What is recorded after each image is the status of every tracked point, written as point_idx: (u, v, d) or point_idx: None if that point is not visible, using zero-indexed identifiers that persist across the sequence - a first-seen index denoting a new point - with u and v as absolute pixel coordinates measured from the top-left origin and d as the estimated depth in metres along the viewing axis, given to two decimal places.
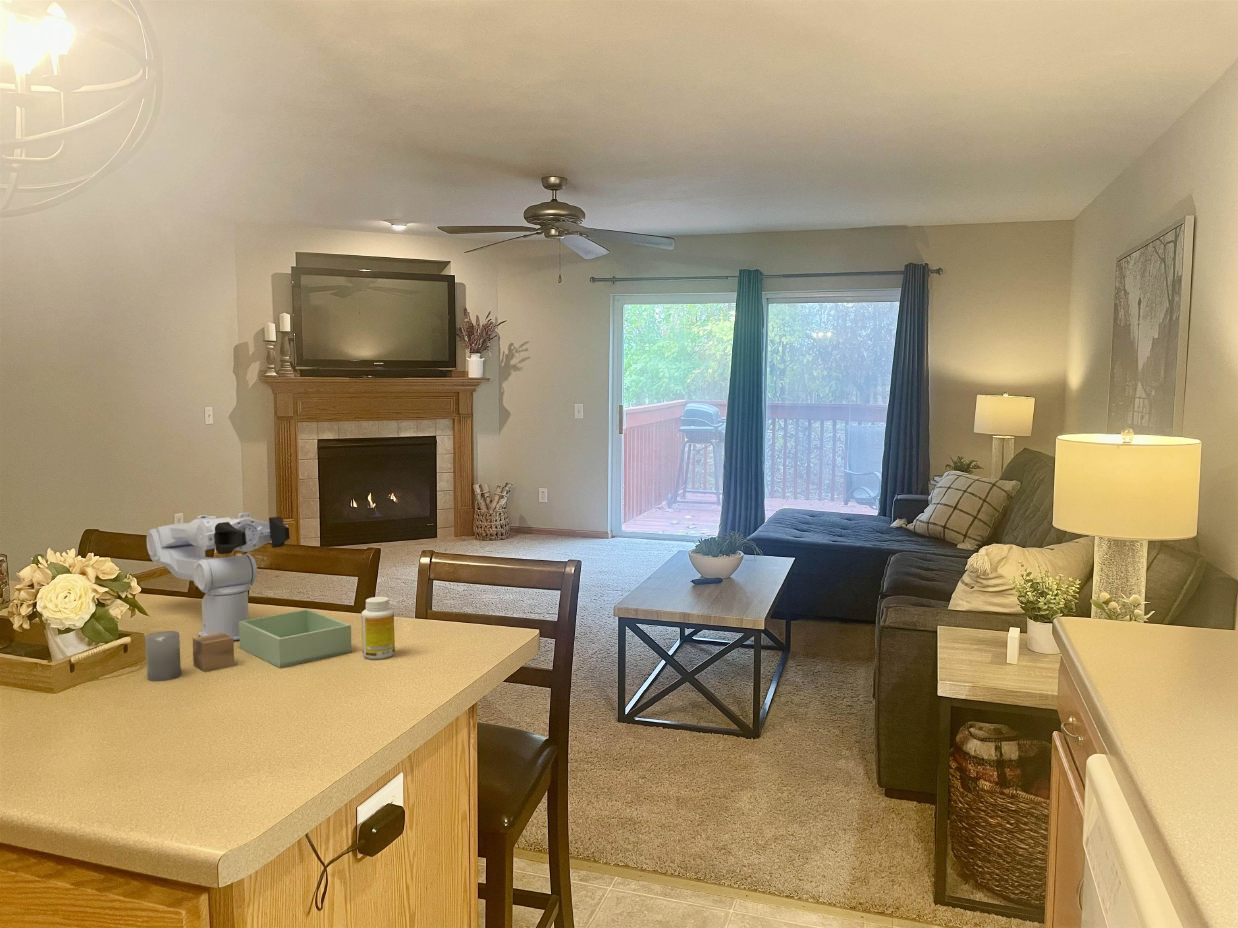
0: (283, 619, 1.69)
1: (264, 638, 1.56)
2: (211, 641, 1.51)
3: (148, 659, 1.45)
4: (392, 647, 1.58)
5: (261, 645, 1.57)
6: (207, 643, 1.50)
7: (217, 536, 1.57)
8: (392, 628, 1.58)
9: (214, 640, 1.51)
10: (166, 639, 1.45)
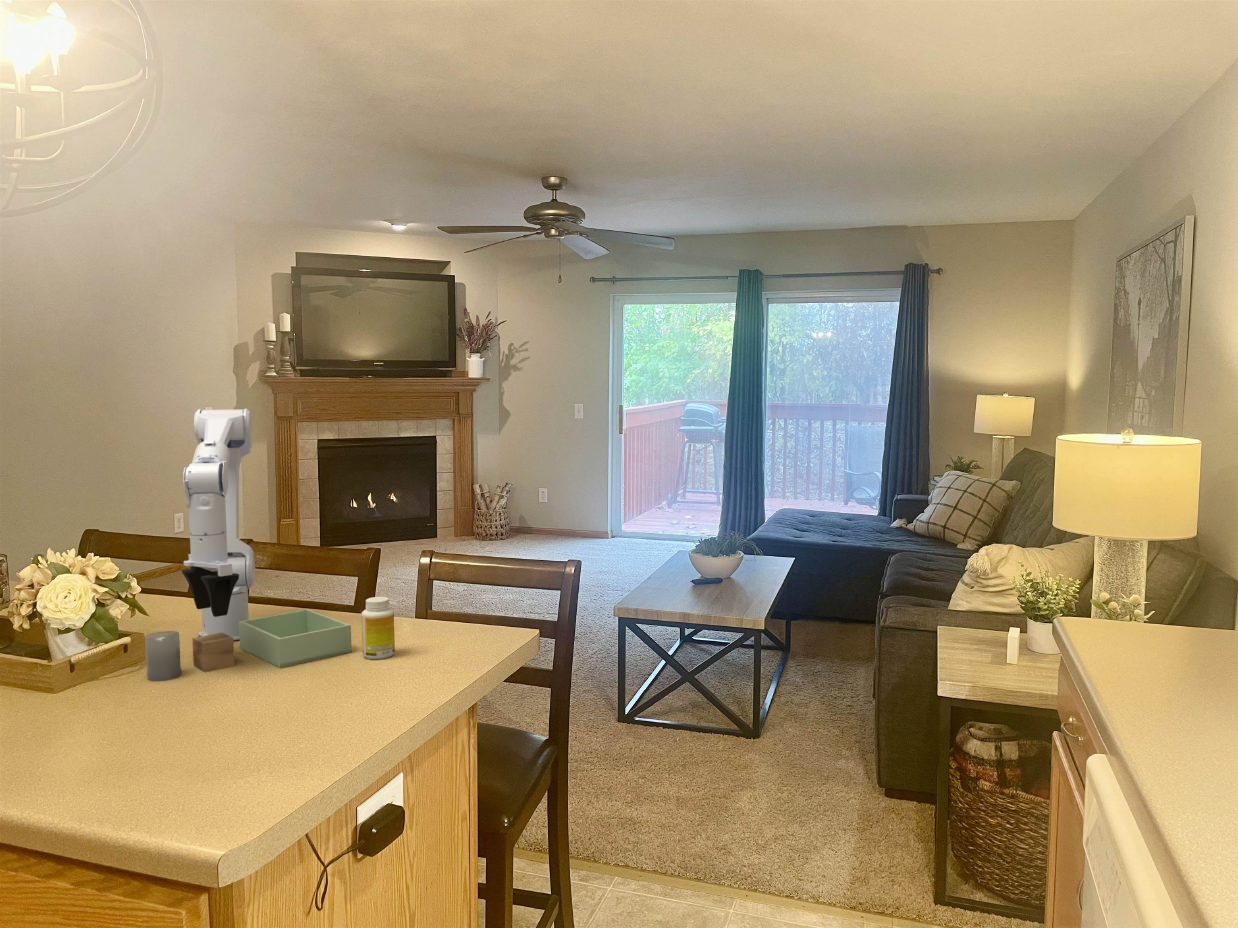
0: (283, 619, 1.69)
1: (264, 638, 1.56)
2: (211, 641, 1.51)
3: (148, 659, 1.45)
4: (392, 647, 1.58)
5: (261, 645, 1.57)
6: (207, 643, 1.50)
7: None
8: (392, 628, 1.58)
9: (214, 640, 1.51)
10: (166, 639, 1.45)
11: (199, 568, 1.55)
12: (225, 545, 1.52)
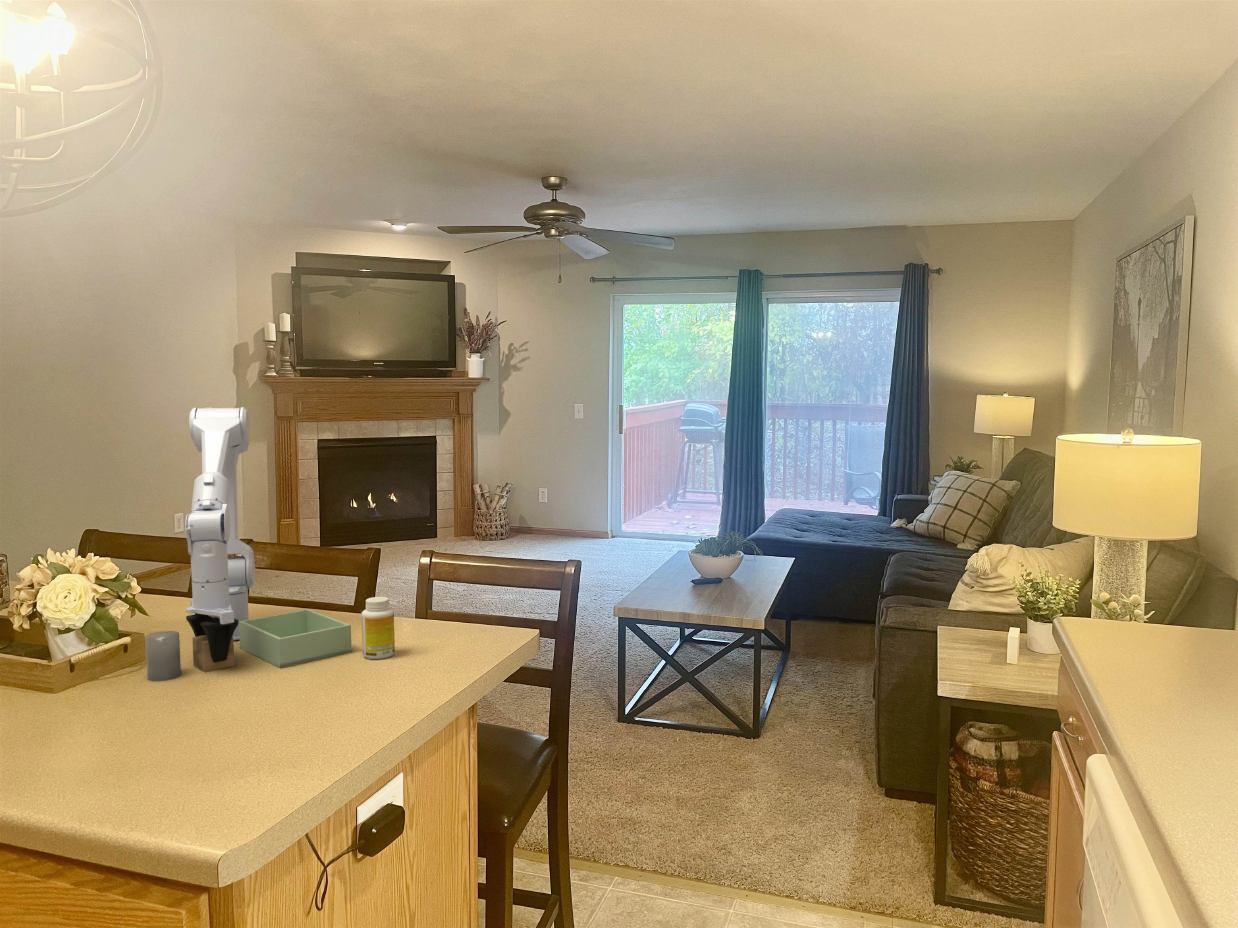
0: (283, 619, 1.69)
1: (264, 638, 1.56)
2: None
3: (148, 659, 1.45)
4: (392, 647, 1.58)
5: (261, 645, 1.57)
6: (207, 642, 1.50)
7: None
8: (392, 628, 1.58)
9: None
10: (166, 639, 1.45)
11: (203, 614, 1.54)
12: (227, 591, 1.52)
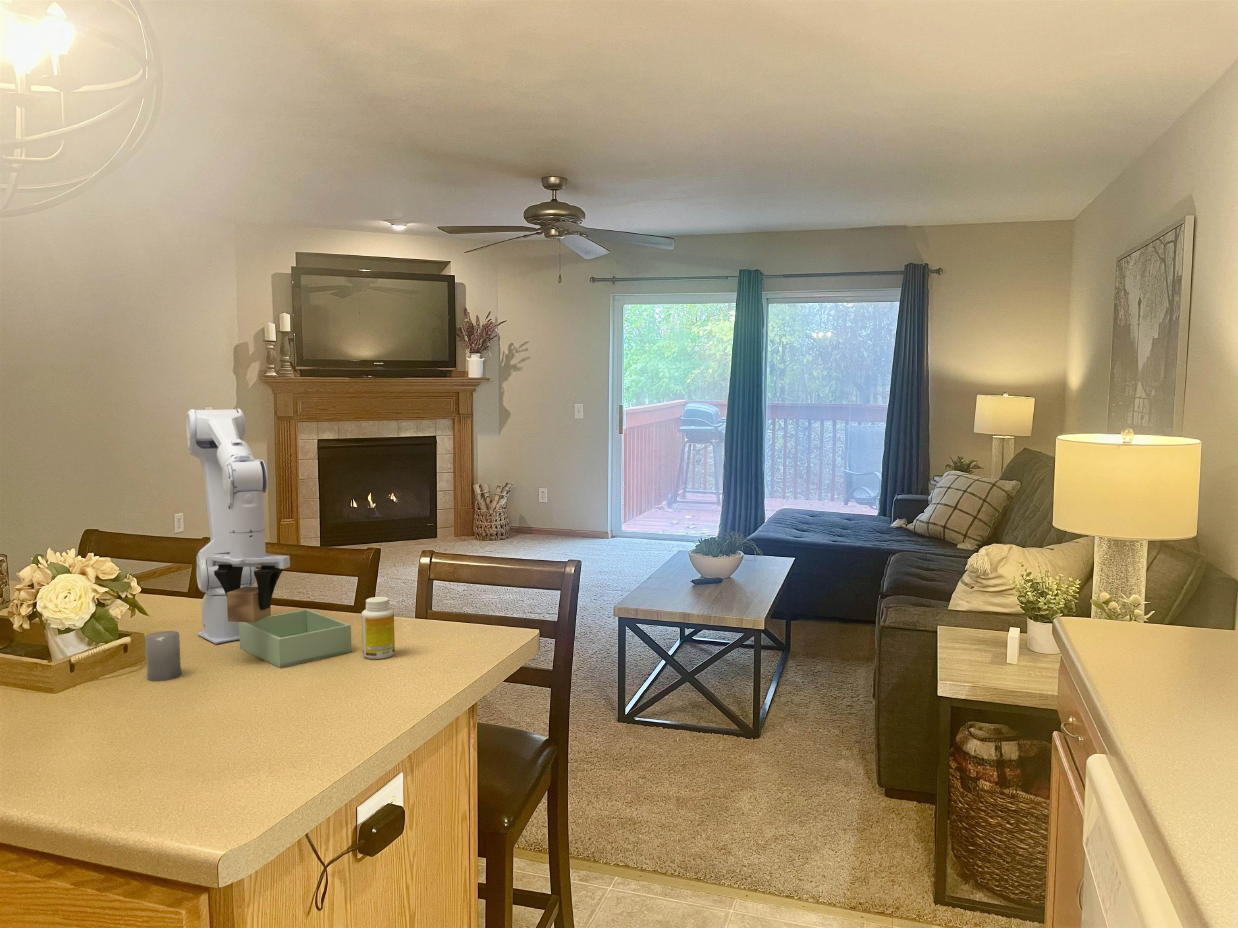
0: (283, 619, 1.69)
1: (264, 638, 1.56)
2: (255, 592, 1.53)
3: (148, 659, 1.45)
4: (392, 647, 1.58)
5: (261, 645, 1.57)
6: (254, 593, 1.52)
7: None
8: (392, 628, 1.58)
9: (256, 591, 1.54)
10: (166, 639, 1.45)
11: (232, 568, 1.55)
12: None
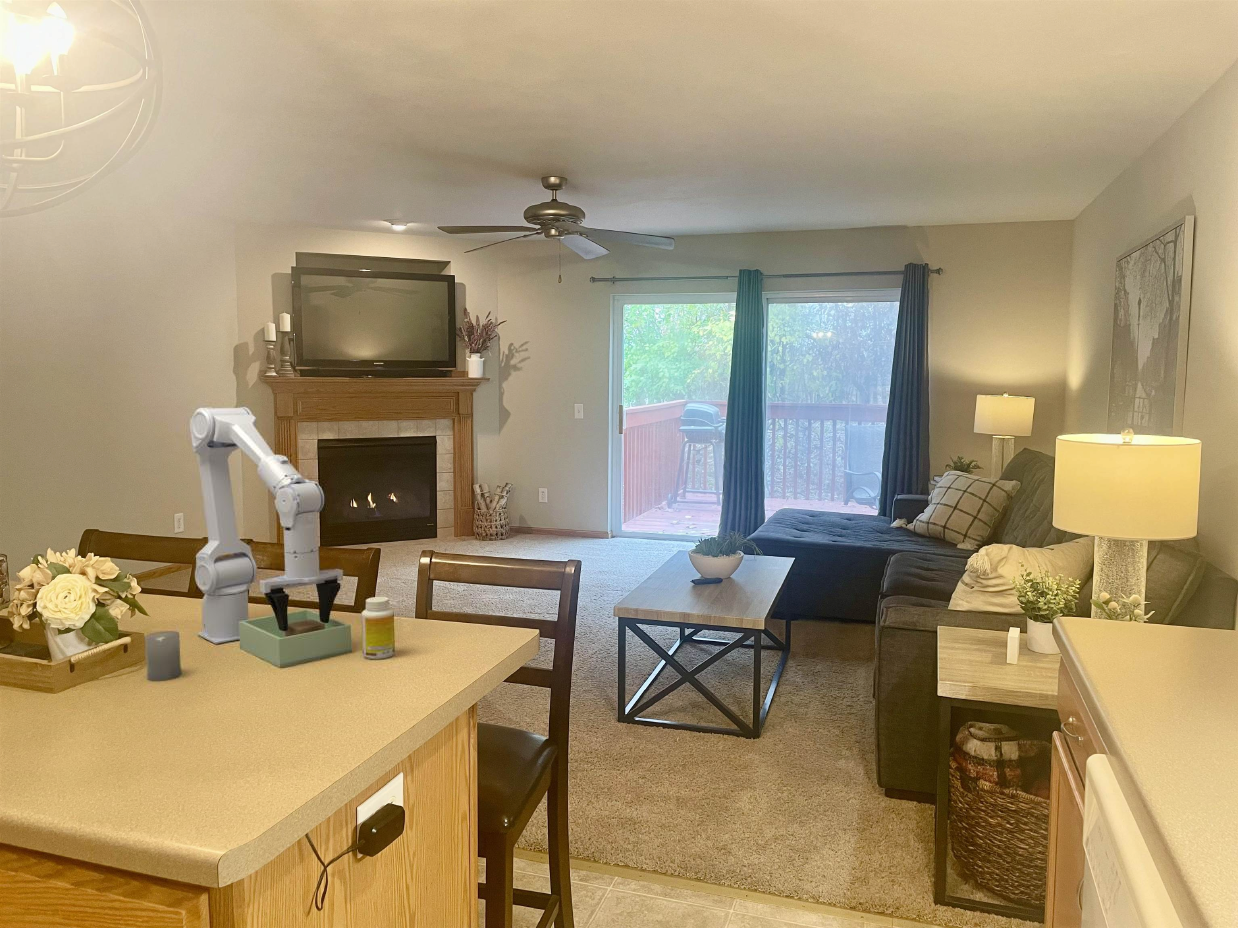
0: None
1: (264, 638, 1.56)
2: (318, 623, 1.60)
3: (148, 659, 1.45)
4: (392, 647, 1.58)
5: (261, 645, 1.57)
6: None
7: (271, 595, 1.54)
8: (392, 628, 1.58)
9: (315, 622, 1.60)
10: (166, 639, 1.45)
11: (282, 590, 1.56)
12: None
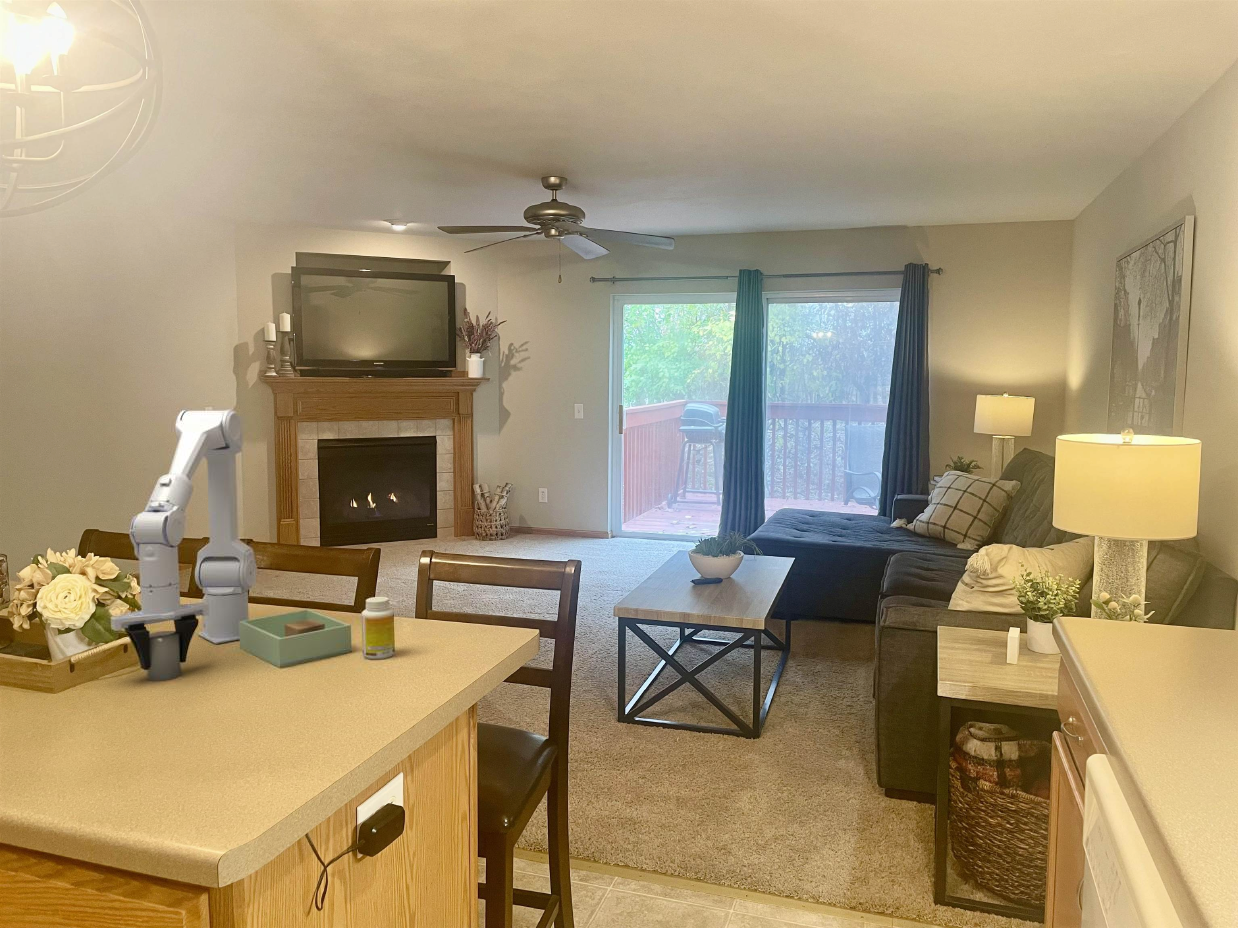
0: (283, 619, 1.69)
1: (264, 638, 1.56)
2: (318, 623, 1.60)
3: None
4: (392, 647, 1.58)
5: (261, 645, 1.57)
6: None
7: None
8: (392, 628, 1.58)
9: (315, 622, 1.60)
10: (166, 639, 1.45)
11: (144, 626, 1.45)
12: None
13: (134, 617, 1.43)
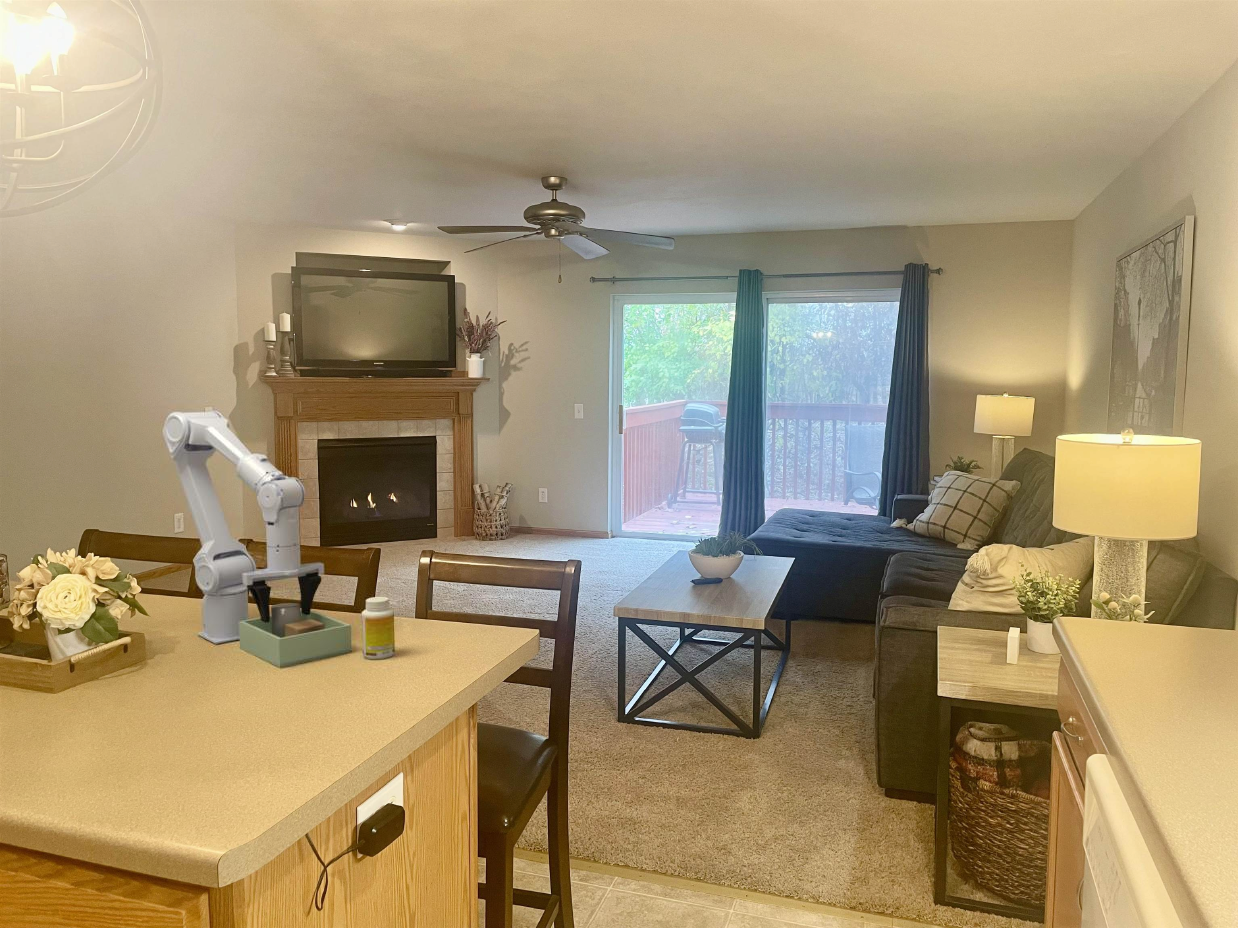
0: None
1: (264, 638, 1.56)
2: (318, 623, 1.60)
3: (274, 627, 1.62)
4: (392, 647, 1.58)
5: (261, 645, 1.57)
6: None
7: None
8: (392, 628, 1.58)
9: (315, 622, 1.60)
10: (290, 609, 1.62)
11: (264, 583, 1.61)
12: None
13: (263, 573, 1.60)
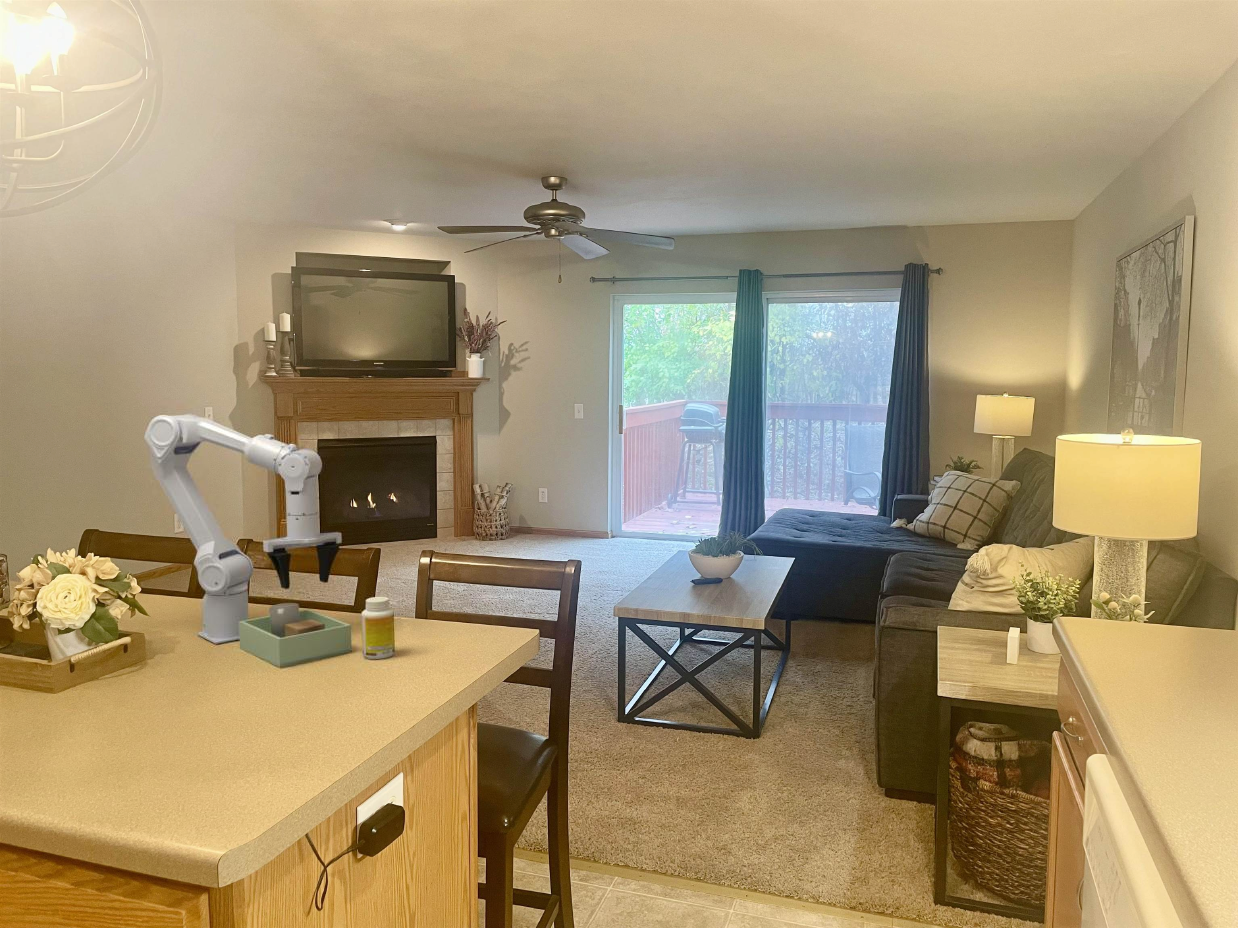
0: None
1: (264, 638, 1.56)
2: (318, 623, 1.60)
3: (273, 628, 1.62)
4: (392, 647, 1.58)
5: (261, 645, 1.57)
6: None
7: None
8: (392, 628, 1.58)
9: (315, 622, 1.60)
10: (289, 609, 1.62)
11: None
12: None
13: (283, 541, 1.64)
